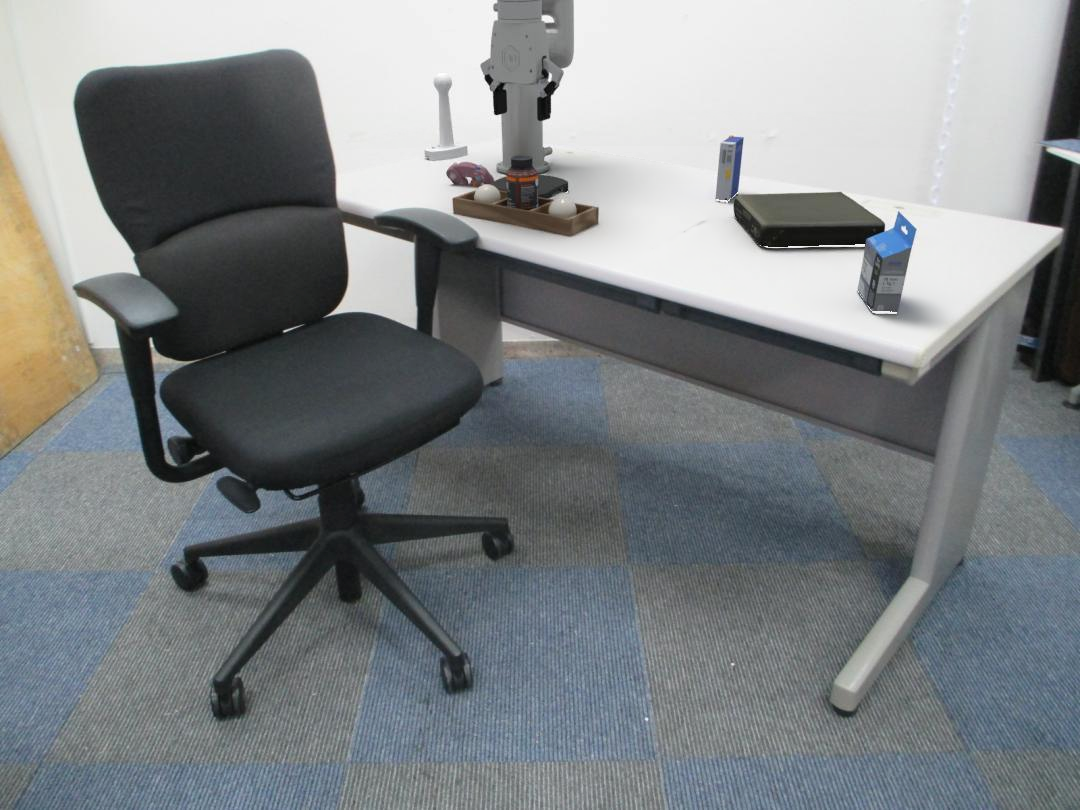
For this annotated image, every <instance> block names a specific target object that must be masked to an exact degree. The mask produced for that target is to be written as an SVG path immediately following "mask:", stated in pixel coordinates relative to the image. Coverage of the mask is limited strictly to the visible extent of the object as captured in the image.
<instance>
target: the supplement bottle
mask: <svg viewBox="0 0 1080 810" xmlns="http://www.w3.org/2000/svg"><path fill="white" fill-rule="evenodd" d="M532 164H533V161H532V157H531V156H528V155H518V156H513V157H511V167H510V169H508V171H507V173H506V174H505V175H506V176H505V177H506V179H507V180H506V181H507V207H512V208H517V209H523V210H528V211H529V210H531V209H534V208H536V207H539V206H538V204H539V203H538V175H539V173H538V172H537V170H536V169H535V168H534V167H533V165H532Z"/></svg>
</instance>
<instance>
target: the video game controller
mask: <svg viewBox="0 0 1080 810" xmlns="http://www.w3.org/2000/svg"><path fill="white" fill-rule="evenodd" d="M446 177H447V178H448V179H449V180H450V181H451V183H452V184H453V185H455V184H457V185H466V186H467V185H468V184H470V186H472V187H480V186H482V185H485V184H491V183H492V182H494V181H495V178H494V176H493V175H492V174H491V173H490V171H489V170H488V169H487V168H486V167H484V165H483V164H476V163H474V162H470V161H463V162H462V161H461V162H460V163H457V162H453V164H452V165H450V166H449V167H448V168H447V170H446ZM468 178H471V180H470V182H469V180H468Z"/></svg>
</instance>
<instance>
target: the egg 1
mask: <svg viewBox="0 0 1080 810" xmlns="http://www.w3.org/2000/svg"><path fill="white" fill-rule="evenodd" d="M475 190H476V192H475V194H474V201H479V202H485V203H490V204H491V203H494V202H497V201H499V200H501V195H500V192H499V190H498V189H497V188H496V187H495V186H493V185H490V184H481V185H480V186H478V188H476V189H475Z"/></svg>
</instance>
